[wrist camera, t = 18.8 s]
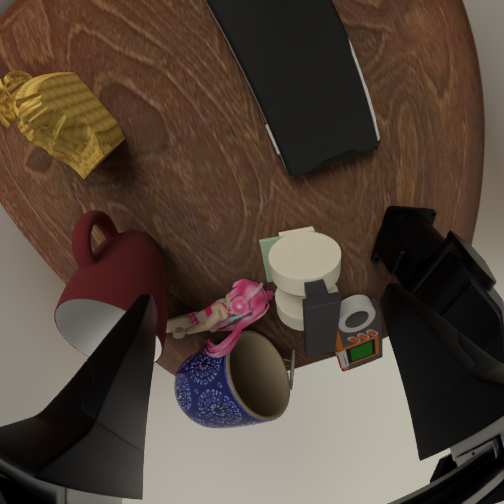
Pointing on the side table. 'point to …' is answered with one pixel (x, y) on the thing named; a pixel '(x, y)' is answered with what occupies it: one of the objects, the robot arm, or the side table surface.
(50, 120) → the figurine
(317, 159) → the smartphone
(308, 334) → the headphones
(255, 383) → the planter
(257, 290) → the toy
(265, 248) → the felt mat
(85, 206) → the side table surface
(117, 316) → the mug
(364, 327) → the electronic device
